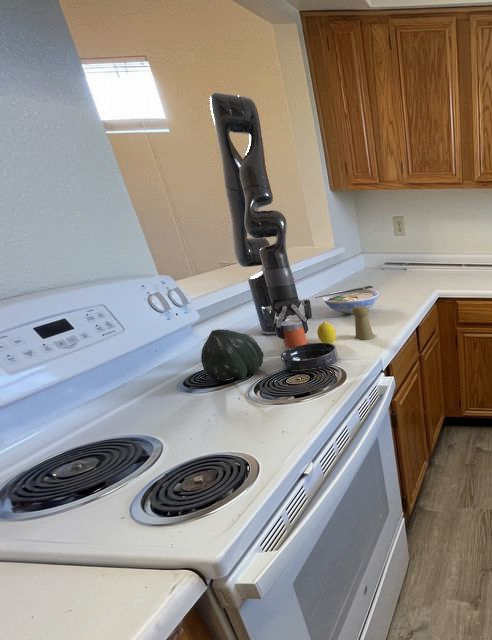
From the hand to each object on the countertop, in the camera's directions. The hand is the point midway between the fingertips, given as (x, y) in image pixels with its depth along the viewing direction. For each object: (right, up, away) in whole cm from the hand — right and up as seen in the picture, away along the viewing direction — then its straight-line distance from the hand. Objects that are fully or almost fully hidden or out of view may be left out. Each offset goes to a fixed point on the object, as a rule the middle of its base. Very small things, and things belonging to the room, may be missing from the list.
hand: (293, 335), depth 131 cm
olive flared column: (+18, +1, +15) cm, 23 cm away
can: (0, -4, +2) cm, 5 cm away
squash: (-9, -13, -13) cm, 20 cm away
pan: (+9, -9, -7) cm, 14 cm away
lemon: (+8, -3, +8) cm, 12 cm away
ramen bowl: (+3, +14, +46) cm, 48 cm away
